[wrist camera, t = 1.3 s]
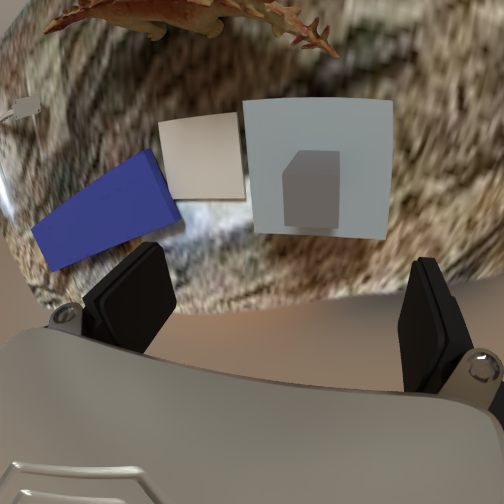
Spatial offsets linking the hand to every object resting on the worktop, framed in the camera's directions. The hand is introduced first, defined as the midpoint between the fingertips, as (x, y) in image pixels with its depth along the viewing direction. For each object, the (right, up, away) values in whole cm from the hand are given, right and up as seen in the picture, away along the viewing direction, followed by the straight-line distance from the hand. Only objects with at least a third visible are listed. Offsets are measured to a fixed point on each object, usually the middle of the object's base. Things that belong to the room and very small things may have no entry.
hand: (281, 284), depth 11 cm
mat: (-7, +12, +23) cm, 27 cm away
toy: (-6, +28, +14) cm, 32 cm away
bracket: (-45, +27, +27) cm, 59 cm away
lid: (+5, +8, +14) cm, 18 cm away
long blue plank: (-27, +6, +33) cm, 43 cm away
